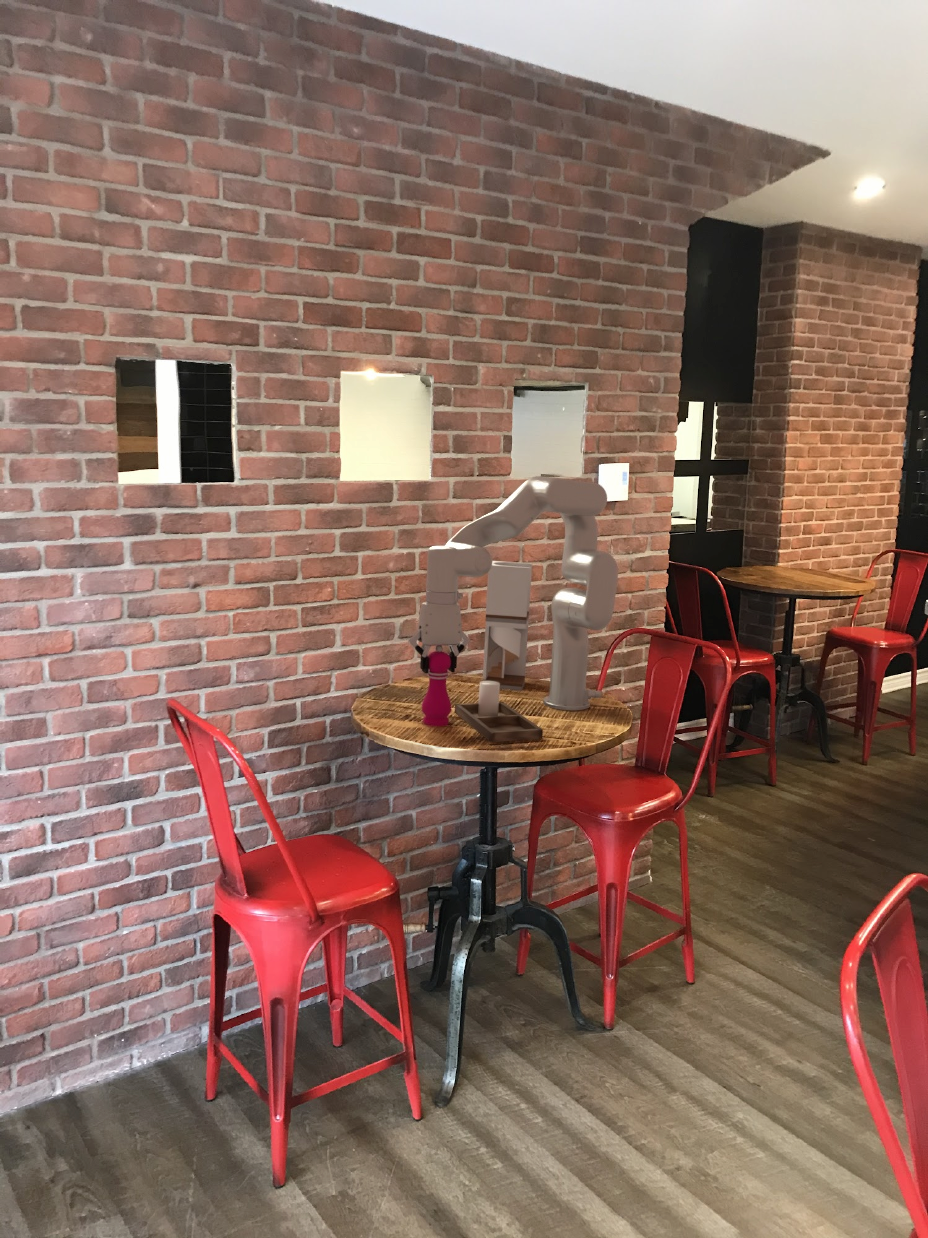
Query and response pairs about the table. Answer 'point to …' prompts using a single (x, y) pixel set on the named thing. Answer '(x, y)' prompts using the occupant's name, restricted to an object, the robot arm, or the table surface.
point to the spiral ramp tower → (507, 624)
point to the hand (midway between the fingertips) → (438, 671)
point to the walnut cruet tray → (499, 724)
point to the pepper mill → (437, 690)
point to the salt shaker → (488, 698)
